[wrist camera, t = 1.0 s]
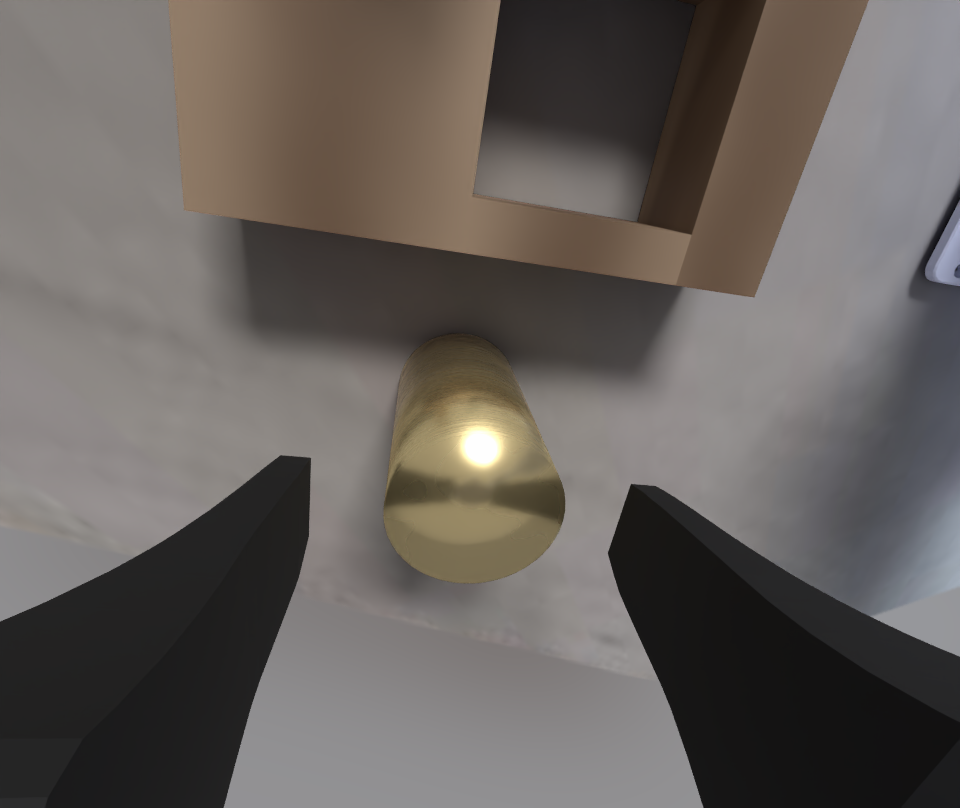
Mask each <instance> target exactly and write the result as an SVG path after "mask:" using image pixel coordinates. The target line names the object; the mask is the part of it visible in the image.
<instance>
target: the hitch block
mask: <svg viewBox="0 0 960 808" xmlns="http://www.w3.org/2000/svg"><path fill="white" fill-rule="evenodd" d="M500 1H501V0H168V2H169V15H170V28H171V42H172V55H173V68H174V81H175V95H176V108H177V121H178V134H179V148H180V161H181V174H182V187H183V201H184V210H186V211H193V212H199V213H206V214H212V215H219V216H225V217H232V218H238V219H245V220H252V221H258V222H265V223H271V224H278V225H284V226H291V227H297V228H304V229H310V230H317V231H323V232H330V233H336V234H343V235H349V236H356V237H363V238H369V239H376V240H382V241H389V242H395V243H402V244H408V245H415V246H421V247H428V248H434V249H441V250H447V251H454V252H461V253H467V254H474V255H480V256H487V257H493V258H500V259H506V260H513V261H519V262H526V263H532V264H539V265H545V266H552V267H558V268H565V269H572V270H578V271H585V272H591V273H598V274H604V275H611V276H617V277H624V278H630V279H637V280H643V281H650V282H656V283H663V284H670V285H676V286H683V287H689V288H696V289H702V290H709V291H715V292H722V293H728V294H735V295H741V296H748V297H755V294H756V292H757V289H758V286H759V284H760V281H761V279H762V276H763V273H764V271H765V268H766V266H767V263H768V260H769V258H770V255H771V253H772V250H773V247H774V245H775V242H776V240H777V237H778V234H779V232H780V229H781V227H782V224H783V221H784V219H785V216H786V214H787V211H788V208H789V206H790V203H791V201H792V198H793V195H794V193H795V190H796V188H797V185H798V182H799V180H800V177H801V175H802V172H803V170H804V167H805V164H806V162H807V159H808V157H809V154H810V151H811V149H812V146H813V144H814V141H815V138H816V136H817V133H818V131H819V128H820V125H821V123H822V120H823V118H824V115H825V112H826V110H827V107H828V105H829V102H830V99H831V97H832V94H833V92H834V89H835V86H836V84H837V81H838V79H839V76H840V73H841V71H842V68H843V66H844V63H845V60H846V58H847V55H848V53H849V50H850V48H851V45H852V42H853V40H854V37H855V35H856V32H857V29H858V27H859V24H860V22H861V19H862V16H863V14H864V11H865V9H866V6H867V3H868V1H869V0H677V1H681V2H685V3H689V4H693V5H696V9H695V13H694V16H693V20H692V24H691V27H690V31H689V35H688V38H687V42H686V46H685V49H684V53H683V57H682V60H681V64H680V68H679V71H678V75H677V79H676V82H675V86H674V90H673V93H672V97H671V101H670V104H669V108H668V112H667V115H666V119H665V123H664V126H663V130H662V134H661V137H660V141H659V145H658V148H657V152H656V156H655V159H654V163H653V167H652V170H651V174H650V178H649V181H648V185H647V189H646V192H645V196H644V200H643V203H642V207H641V211H640V214H639V218H638V222H633V221H627V220H621V219H616V218H610V217H604V216H598V215H592V214H587V213H581V212H575V211H569V210H563V209H558V208H552V207H546V206H540V205H534V204H529V203H523V202H517V201H511V200H505V199H500V198H494V197H488V196H482V195H476V194H473V190H474V183H475V176H476V169H477V162H478V155H479V148H480V141H481V134H482V127H483V120H484V113H485V106H486V99H487V92H488V85H489V78H490V71H491V64H492V57H493V50H494V43H495V36H496V29H497V22H498V15H499V8H500Z"/></svg>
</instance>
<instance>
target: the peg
mask: <svg viewBox="0 0 960 808" xmlns="http://www.w3.org/2000/svg"><path fill="white" fill-rule="evenodd" d="M564 513H565V494H564V489H563V486H562V482H561V480H560V478H559V475H558V473H557V471H556V469H555V466H554V464H553V462H552V459H551V457H550V455H549V453H548V450H547V448H546V446H545V444H544V441H543V439H542V437H541V434H540V432H539V430H538V428H537V425H536V423H535V421H534V418H533V416H532V414H531V412H530V409H529V407H528V405H527V403H526V400H525V398H524V396H523V393H522V391H521V389H520V387H519V384H518V382H517V380H516V377H515V375H514V373H513V371H512V368H511V366H510V364H509V362H508V360H507V359H506V357H505V356H504V354H503V353H502V352H501V351H500V350H499V349H498V348H497V347H496V346H494V345H493V344H491V343H490V342H488V341H487V340H485V339H482V338H480V337H477V336H474V335H469V334H460V333H457V334H447V335H442V336H439V337H436V338H434V339H431V340H429V341H427V342H426V343H424V344H423V345H421V346H420V347H419V348H418V349H416V350H415V351H414V353H413V354H412V355H411V356H410V357H409V359H408V360H407V362H406V363H405V365H404V368H403V370H402V373H401V376H400V382H399V390H398V398H397V406H396V414H395V422H394V430H393V438H392V446H391V454H390V462H389V470H388V478H387V486H386V494H385V502H384V524H385V529H386V532H387V536H388V538H389V540H390V542H391V544H392V546H393V547H394V549H395V550H396V552H397V553H398V554H399V555H400V556H401V557H402V558H403V559H404V560H405V561H406V562H407V563H408V564H409V565H411V566H412V567H413V568H415V569H417V570H418V571H420V572H422V573H424V574H426V575H428V576H430V577H433V578H436V579H439V580H443V581H448V582H454V583H482V582H488V581H493V580H497V579H501V578H504V577H507V576H509V575H512V574H514V573H516V572H518V571H520V570H522V569H524V568H525V567H527V566H528V565H530V564H531V563H533V562H534V561H535V560H537V559H538V558H539V557H540V556H541V555H542V554H543V553H544V552H545V551H546V550H547V549H548V548H549V546H550V545H551V544H552V542H553V541H554V539H555V538H556V536H557V534H558V532H559V530H560V528H561V525H562V522H563V518H564Z"/></svg>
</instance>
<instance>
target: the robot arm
mask: <svg viewBox="0 0 960 808" xmlns="http://www.w3.org/2000/svg"><path fill="white" fill-rule="evenodd" d="M957 266H958V268H957V270H956V271H955V269H956V267H957ZM954 271H955V273H954ZM925 276H926V277H927V279H928V280H930V281H933V282H938V283H943V284H949V285H955V286H960V201H959V203H958V205H957V206H956V208H955V210H954V212H953V214H952V216H951V218H950V220H949V222H948V224H947V226H946V228H945V230H944V232H943V234H942V236H941V238H940V240H939V242H938V244H937V246H936V247H935V249H934V251H933V253H932V255H931V257H930V259H929V261H928V263H927V265H926V268H925ZM310 471H311V458H306V457H294V456H282V455H281V456H279V457H278V458H277V459H275V460H274V461H273V462H271V463H270V464H269V465H267V466H266V467H265V468H264V469H262V470H261V471H260V472H259V473H257V474H256V475H255V476H254V477H252V478H251V479H250V480H249V481H247V482H246V483H245V484H244V485H242V486H241V487H240V488H239V489H237V490H236V491H235V492H233V493H232V494H231V495H229V496H228V497H227V498H225V499H224V500H223V501H221V502H220V503H219V504H217V505H216V506H215V507H213V508H212V509H211V510H209V511H208V512H206V513H205V514H203V515H202V516H200V517H199V518H197V519H196V520H194V521H193V522H192V523H190V524H189V525H187V526H186V527H184V528H183V529H181V530H180V531H178V532H177V533H175V534H174V535H172V536H170V537H169V538H167V539H166V540H164V541H162V542H161V543H159V544H157V545H156V546H154V547H152V548H151V549H149V550H147V551H145V552H144V553H142V554H140V555H138V556H136V557H135V558H133V559H131V560H129V561H127V562H126V563H124V564H122V565H120V566H119V567H117V568H115V569H113V570H111V571H109V572H107V573H105V574H103V575H101V576H99V577H97V578H94V579H93V580H90V581H88V582H86V583H84V584H82V585H80V586H78V587H76V588H74V589H72V590H70V591H68V592H66V593H64V594H61V595H59V596H58V597H55V598H53V599H51V600H49V601H47V602H45V603H42V604H40V605H38V606H36V607H33V608H31V609H29V610H26V611H24V612H22V613H19V614H17V615H15V616H12V617H10V618H8V619H5V620H3V621H1V622H0V808H223V807H224V804H225V800H226V796H227V793H228V789H229V785H230V781H231V778H232V774H233V770H234V766H235V763H236V759H237V755H238V752H239V748H240V745H241V741H242V737H243V734H244V730H245V726H246V723H247V719H248V716H249V712H250V709H251V705H252V702H253V699H254V696H255V693H256V690H257V687H258V684H259V681H260V678H261V676H262V673H263V671H264V668H265V665H266V663H267V660H268V657H269V655H270V652H271V650H272V647H273V644H274V642H275V639H276V637H277V634H278V631H279V628H280V626H281V624H282V621H283V618H284V616H285V613H286V610H287V608H288V605H289V602H290V600H291V597H292V594H293V592H294V589H295V586H296V584H297V581H298V578H299V574H300V570H301V566H302V562H303V558H304V554H305V550H306V545H307V541H308V537H309V508H310ZM608 555H609V559H610V563H611V566H612V570H613V574H614V577H615V580H616V583H617V586H618V590H619V593H620V595H621V597H622V600H623V602H624V604H625V607H626V609H627V611H628V613H629V616H630V618H631V620H632V622H633V625H634V627H635V629H636V631H637V633H638V636H639V638H640V640H641V642H642V644H643V646H644V649H645V651H646V653H647V655H648V657H649V659H650V662H651V664H652V666H653V668H654V670H655V673H656V675H657V677H658V679H659V681H660V683H661V686H662V688H663V691H664V693H665V695H666V698H667V700H668V703H669V705H670V708H671V710H672V713H673V716H674V719H675V722H676V724H677V727H678V731H679V733H680V736H681V739H682V742H683V745H684V748H685V751H686V754H687V756H688V760H689V763H690V766H691V769H692V773H693V776H694V779H695V782H696V785H697V788H698V791H699V795H700V798H701V801H702V804H703V807H704V808H960V657H959V656H956V655H954V654H952V653H949V652H947V651H944V650H942V649H940V648H937V647H935V646H933V645H930V644H928V643H925V642H923V641H921V640H919V639H916V638H914V637H912V636H910V635H907V634H905V633H903V632H901V631H899V630H897V629H895V628H893V627H890V626H888V625H886V624H884V623H882V622H880V621H878V620H876V619H874V618H872V617H870V616H867V615H865V614H863V613H861V612H859V611H857V610H855V609H853V608H851V607H850V606H848V605H846V604H844V603H842V602H840V601H838V600H836V599H834V598H833V597H831V596H829V595H827V594H825V593H823V592H822V591H820V590H818V589H816V588H814V587H812V586H811V585H809V584H807V583H805V582H803V581H802V580H800V579H798V578H797V577H795V576H793V575H792V574H790V573H788V572H787V571H785V570H783V569H782V568H780V567H778V566H777V565H775V564H774V563H772V562H771V561H769V560H767V559H766V558H764V557H763V556H761V555H759V554H758V553H756V552H755V551H753V550H752V549H750V548H749V547H747V546H746V545H744V544H742V543H741V542H740V541H738V540H737V539H735V538H734V537H732V536H731V535H729V534H728V533H726V532H725V531H723V530H722V529H720V528H719V527H717V526H716V525H715V524H713V523H712V522H710V521H709V520H707V519H706V518H704V517H703V516H701V515H700V514H699V513H697V512H696V511H694V510H693V509H691V508H690V507H688V506H687V505H685V504H684V503H682V502H681V501H679V500H678V499H676V498H675V497H673V496H672V495H670V494H668V493H667V492H665V491H663V490H662V489H660V488H658V487H656V486H648V485H636V484H631V486H630V489H629V492H628V495H627V498H626V501H625V504H624V507H623V510H622V513H621V516H620V519H619V522H618V525H617V528H616V531H615V534H614V537H613V540H612V543H611V546H610V548H609V551H608Z"/></svg>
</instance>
